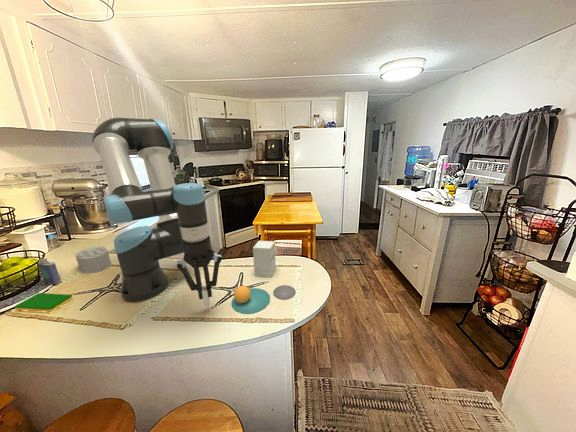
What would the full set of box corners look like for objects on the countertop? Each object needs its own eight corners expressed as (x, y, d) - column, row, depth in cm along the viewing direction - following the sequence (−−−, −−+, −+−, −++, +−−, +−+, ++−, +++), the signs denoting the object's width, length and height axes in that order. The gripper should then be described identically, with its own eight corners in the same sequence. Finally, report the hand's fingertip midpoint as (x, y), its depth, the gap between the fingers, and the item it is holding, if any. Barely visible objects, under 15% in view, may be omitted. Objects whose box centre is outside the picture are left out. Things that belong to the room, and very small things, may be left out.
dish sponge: (52, 314, 73) (50, 308, 73) (16, 312, 75) (13, 306, 74) (74, 300, 80) (72, 294, 79) (40, 298, 82) (38, 292, 81)
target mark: (233, 318, 69) (233, 317, 68) (229, 293, 80) (229, 293, 80) (274, 307, 72) (274, 307, 72) (265, 285, 84) (265, 285, 84)
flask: (63, 282, 91) (54, 258, 87) (54, 286, 88) (44, 261, 85) (51, 278, 94) (41, 255, 91) (41, 281, 91) (31, 258, 88)
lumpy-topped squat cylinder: (105, 258, 109) (100, 242, 107) (116, 265, 102) (111, 248, 100) (77, 268, 101) (71, 250, 99) (87, 276, 94) (81, 258, 92)
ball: (253, 303, 75) (237, 308, 73) (247, 294, 80) (232, 298, 77) (252, 289, 73) (236, 294, 71) (247, 280, 78) (231, 285, 75)
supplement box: (271, 277, 89) (270, 248, 86) (254, 275, 91) (251, 247, 87) (276, 268, 96) (275, 241, 93) (260, 266, 98) (258, 240, 94)
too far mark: (276, 301, 75) (276, 301, 75) (270, 288, 82) (270, 288, 82) (298, 296, 78) (298, 295, 78) (291, 283, 85) (291, 283, 85)
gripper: (169, 246, 59) (184, 319, 66) (220, 238, 63) (229, 308, 70) (173, 236, 66) (186, 303, 73) (218, 230, 70) (227, 294, 77)
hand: (207, 305), depth 72 cm, fingers closed
